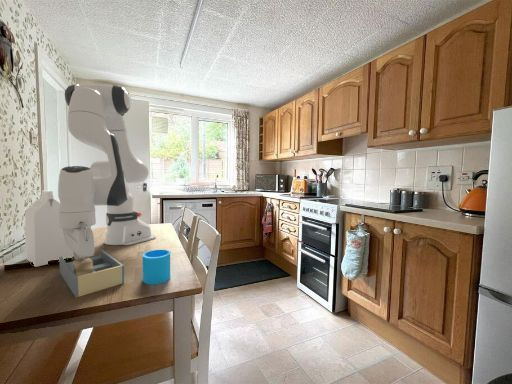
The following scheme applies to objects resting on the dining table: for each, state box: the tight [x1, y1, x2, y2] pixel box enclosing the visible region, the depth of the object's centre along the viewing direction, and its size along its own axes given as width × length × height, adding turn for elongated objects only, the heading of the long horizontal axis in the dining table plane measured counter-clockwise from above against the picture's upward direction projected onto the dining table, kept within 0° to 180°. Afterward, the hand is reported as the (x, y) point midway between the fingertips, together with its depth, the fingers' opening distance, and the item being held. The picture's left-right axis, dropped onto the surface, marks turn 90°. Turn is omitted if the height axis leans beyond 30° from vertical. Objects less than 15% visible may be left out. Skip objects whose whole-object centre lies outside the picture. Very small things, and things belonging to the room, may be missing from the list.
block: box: [72, 257, 93, 276], centre depth 71 cm, size 4×4×4 cm
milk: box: [24, 189, 74, 268], centre depth 90 cm, size 12×12×26 cm
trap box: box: [58, 248, 125, 298], centre depth 75 cm, size 12×22×6 cm, turn 48°
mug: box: [142, 249, 171, 285], centre depth 77 cm, size 12×8×8 cm
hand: (79, 264), depth 73 cm, fingers closed
